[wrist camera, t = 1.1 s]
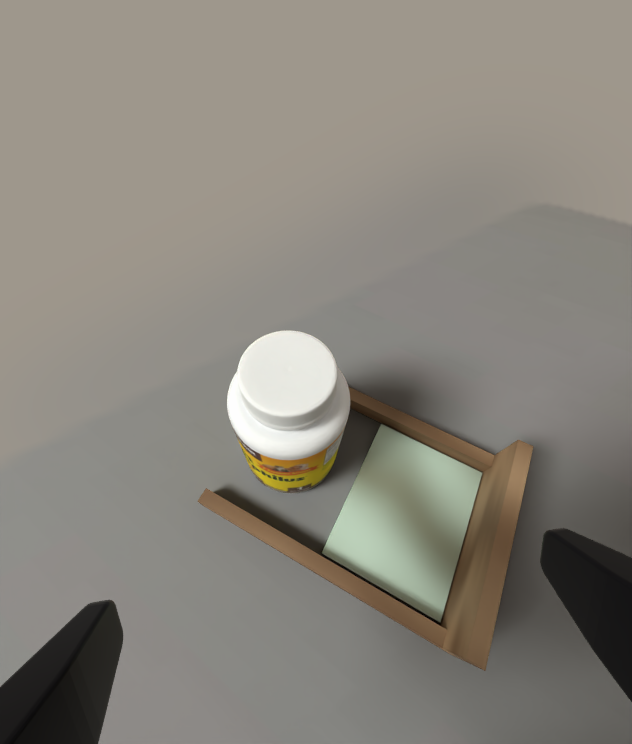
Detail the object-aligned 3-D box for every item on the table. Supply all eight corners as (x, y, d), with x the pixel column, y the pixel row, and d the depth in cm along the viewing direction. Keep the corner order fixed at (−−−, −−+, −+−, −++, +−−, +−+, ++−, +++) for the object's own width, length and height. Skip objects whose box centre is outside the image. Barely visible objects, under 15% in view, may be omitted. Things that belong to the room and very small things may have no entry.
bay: (449, 653, 18) (485, 671, 14) (202, 505, 21) (183, 490, 18) (498, 467, 23) (533, 446, 19) (292, 368, 26) (291, 335, 22)
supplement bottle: (229, 466, 22) (183, 390, 13) (279, 397, 25) (267, 294, 16) (307, 515, 21) (313, 466, 12) (351, 436, 23) (381, 349, 15)
